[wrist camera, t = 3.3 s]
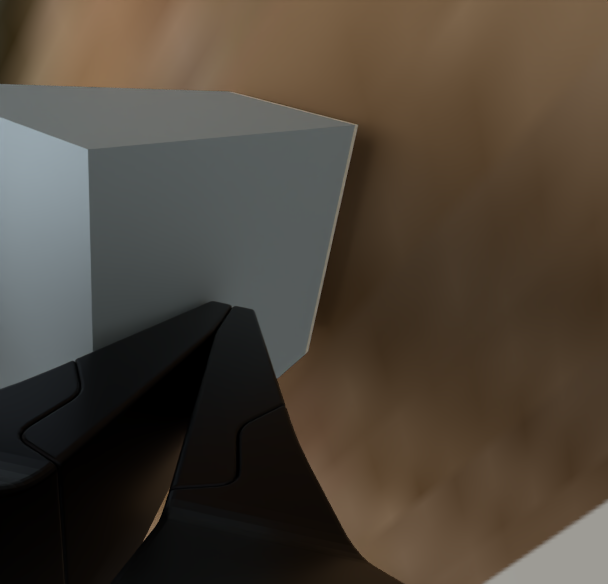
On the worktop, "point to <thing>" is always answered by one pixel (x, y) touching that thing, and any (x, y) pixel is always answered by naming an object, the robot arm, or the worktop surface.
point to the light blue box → (159, 216)
